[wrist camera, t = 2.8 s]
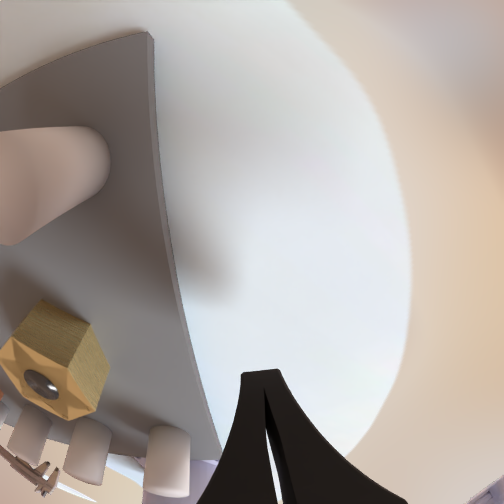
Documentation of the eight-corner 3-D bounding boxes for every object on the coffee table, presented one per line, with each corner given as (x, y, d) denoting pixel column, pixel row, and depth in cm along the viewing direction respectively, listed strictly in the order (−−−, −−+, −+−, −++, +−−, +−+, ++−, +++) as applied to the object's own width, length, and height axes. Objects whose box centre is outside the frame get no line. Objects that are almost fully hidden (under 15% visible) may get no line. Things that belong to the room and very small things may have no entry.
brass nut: (119, 384, 13) (107, 428, 10) (52, 377, 13) (35, 413, 10) (80, 298, 11) (51, 341, 8) (10, 299, 10) (-19, 333, 7)
